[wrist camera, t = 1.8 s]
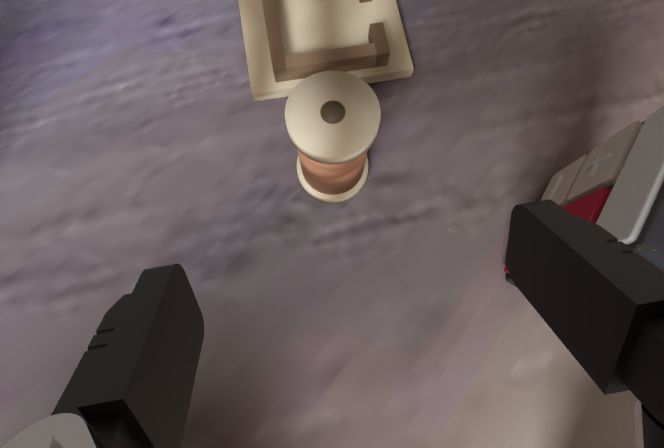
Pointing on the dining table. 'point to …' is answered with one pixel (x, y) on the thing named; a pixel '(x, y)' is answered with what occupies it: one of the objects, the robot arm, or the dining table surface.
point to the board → (321, 42)
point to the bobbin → (332, 133)
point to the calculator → (620, 187)
